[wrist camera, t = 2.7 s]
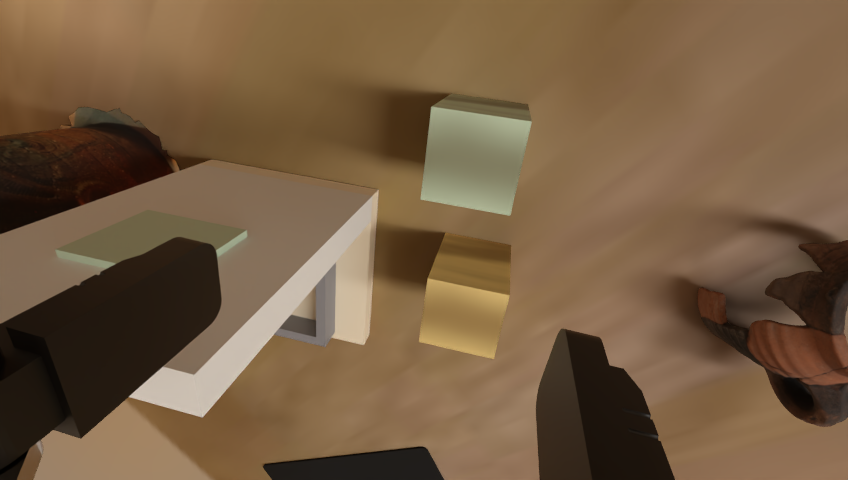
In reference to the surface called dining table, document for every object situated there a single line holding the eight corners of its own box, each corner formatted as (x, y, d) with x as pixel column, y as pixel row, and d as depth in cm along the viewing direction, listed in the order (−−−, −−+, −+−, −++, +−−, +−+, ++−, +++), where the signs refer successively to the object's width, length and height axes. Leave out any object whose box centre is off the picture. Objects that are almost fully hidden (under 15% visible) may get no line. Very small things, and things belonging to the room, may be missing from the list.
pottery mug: (675, 252, 28) (805, 267, 20) (784, 216, 29) (948, 216, 21) (707, 408, 29) (842, 482, 21) (811, 367, 31) (974, 421, 23)
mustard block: (445, 232, 31) (427, 278, 24) (510, 244, 30) (509, 295, 24) (437, 287, 33) (419, 341, 27) (497, 299, 32) (493, 358, 26)
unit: (211, 154, 32) (-150, 276, 15) (379, 184, 30) (192, 365, 13) (230, 301, 38) (-5, 507, 21) (369, 334, 36) (236, 590, 19)
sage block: (451, 93, 26) (431, 106, 20) (527, 104, 26) (531, 121, 19) (441, 167, 28) (420, 199, 22) (511, 179, 28) (510, 215, 22)
